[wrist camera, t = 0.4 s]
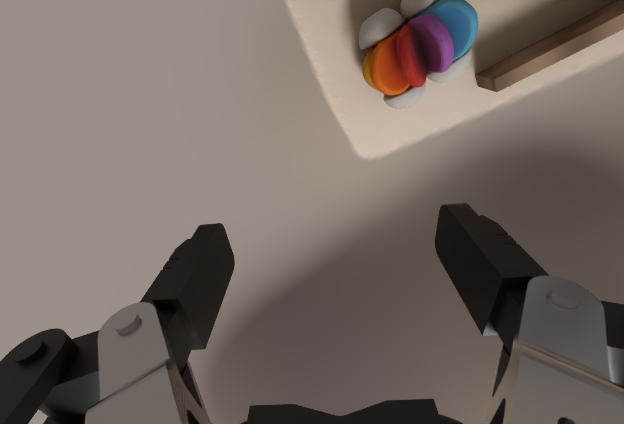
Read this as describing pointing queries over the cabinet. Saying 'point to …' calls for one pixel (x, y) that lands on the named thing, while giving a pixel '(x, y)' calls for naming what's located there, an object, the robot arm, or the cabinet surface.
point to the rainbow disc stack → (417, 47)
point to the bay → (554, 48)
